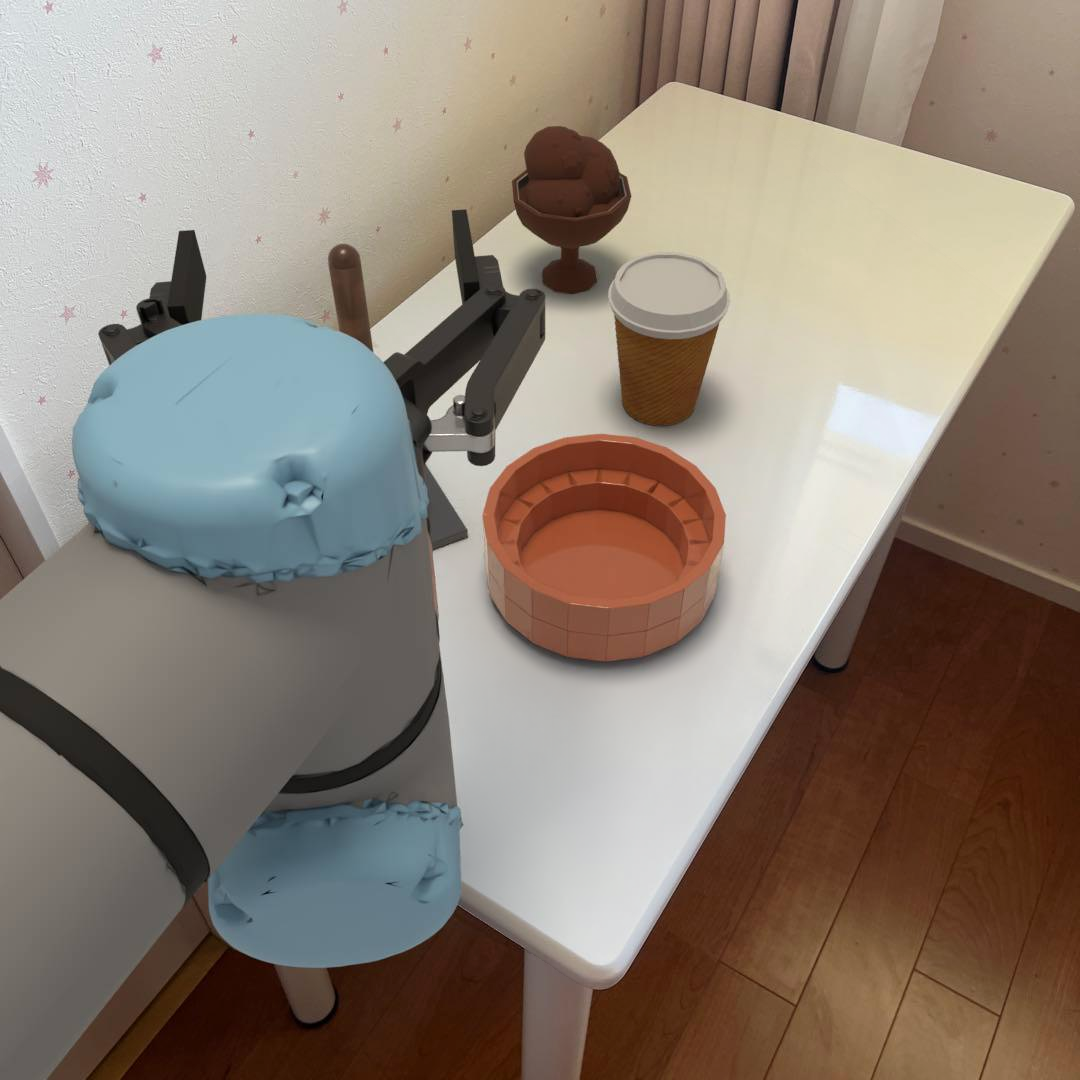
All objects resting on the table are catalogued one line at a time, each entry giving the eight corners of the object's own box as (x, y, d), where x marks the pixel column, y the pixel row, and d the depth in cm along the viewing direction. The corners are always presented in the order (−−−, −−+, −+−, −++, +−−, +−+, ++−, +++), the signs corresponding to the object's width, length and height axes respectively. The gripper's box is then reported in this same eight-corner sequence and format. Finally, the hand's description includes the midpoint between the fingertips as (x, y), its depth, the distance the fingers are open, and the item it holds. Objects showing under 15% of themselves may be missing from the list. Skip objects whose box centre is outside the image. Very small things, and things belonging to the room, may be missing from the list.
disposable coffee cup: (720, 439, 91) (739, 318, 82) (604, 439, 91) (611, 318, 82) (708, 367, 97) (724, 248, 89) (600, 367, 98) (606, 248, 89)
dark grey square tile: (343, 582, 80) (342, 575, 80) (299, 496, 87) (297, 489, 86) (468, 536, 84) (467, 529, 83) (417, 457, 90) (416, 449, 89)
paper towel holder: (355, 554, 81) (306, 290, 64) (323, 495, 86) (269, 232, 69) (442, 523, 83) (416, 259, 67) (407, 467, 88) (374, 205, 71)
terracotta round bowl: (552, 703, 73) (552, 643, 68) (451, 540, 83) (445, 477, 79) (759, 614, 78) (773, 553, 74) (640, 471, 88) (646, 408, 84)
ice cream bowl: (565, 324, 102) (567, 174, 91) (491, 272, 108) (484, 125, 97) (648, 282, 106) (660, 134, 95) (573, 234, 112) (576, 89, 101)
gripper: (29, 641, 44) (99, 324, 58) (646, 574, 46) (567, 285, 60) (-45, 508, 38) (53, 194, 53) (659, 440, 41) (569, 157, 55)
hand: (328, 242), depth 57 cm, fingers open, 13 cm apart
